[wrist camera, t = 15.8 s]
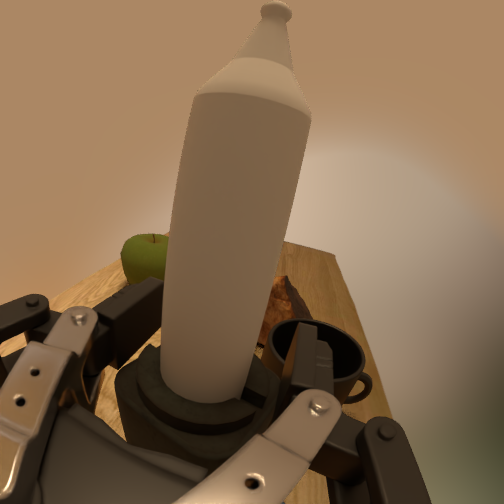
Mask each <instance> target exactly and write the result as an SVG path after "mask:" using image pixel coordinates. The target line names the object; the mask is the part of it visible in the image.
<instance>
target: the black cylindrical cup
mask: <svg viewBox="0 0 504 504" xmlns="http://www.w3.org/2000/svg"><path fill="white" fill-rule="evenodd" d="M299 322H300V323H304V324H308V325H312V326H316V327H317V340H320V341H325V342H327V343H328V345H329V346H330V348H331V350H332V356H333V361H332V362H333V381H334V397H335V398H336V399H337V400H338V401H339V403H340V405H341V406H342V405H343V404H352V403H356V402H359V401H361V400H363V399H364V398H366V397H367V396H368V395H369V393H370V392H371V390H372V379H371V377H370V376H369V375H368V374H366V373H364V372H362V371H363V369H364V367H365V355H364V352H363V350H362V348H361V346H360V345H359V344H358V342H357V341H356V340H355V339H354V338H352V337H351V336H350V335H349V334H347V333H346V332H344V331H343V330H341V329H339V328H337V327H335V326H333V325H330V324H328V323H325V322H321V321H318V320H313V319H305V318H294V319H288V320H284V321H281V322H279V323H277V324H276V325H275V326H273V328H272V329H271V330H270V332H269V334H268V337H267V340H266V343H265V347H264V350H263V353H262V357H261V362H262V363H263V365H264V366H265V367H266V368H268V369H270V370H271V371H273V372H274V373H275V374H276V375H277V376H278V377H279V379H280V380H281V378H282V373H283V368H284V364H285V360H286V357H287V354H288V351H289V348H290V346H291V343H292V340H293V337H294V334H295V331H296V328H297V326H298V323H299ZM357 380H360V381H362V382H363V383H364V384H365V388H364V390H363V391H362V392H361V393H359V394H357V395H355V396H348V395H349V393H350V392H351V390H352V388H353V387H354V385H355V383H356V382H357ZM272 419H273V417H272ZM272 419H271V421H270V423H269V425H268V427H267V429H268V428H269V427H270V426H271V423H272ZM267 429H266V430H267Z"/></svg>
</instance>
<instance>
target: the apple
mask: <svg viewBox="0 0 504 504" xmlns="http://www.w3.org/2000/svg"><path fill="white" fill-rule="evenodd" d="M168 240H169V237H168V236H164V235H161V234H140V235H136V236H133V237H131V238H130V239H128V240H127V241H126V242H125V244H124V246H123V249H122V251H121V260H122V265H123V270H124V274H125V276H126V278H127V280H128V282H129V284H130V285H133V284H136V283H137V284H139V283H141V282H142V281H144V280H145V279H147V278H148V277H154V278H157V279H159V280H162V281H164V280H165V269H166V258H167V249H168Z"/></svg>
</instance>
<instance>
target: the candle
mask: <svg viewBox="0 0 504 504" xmlns="http://www.w3.org/2000/svg"><path fill="white" fill-rule="evenodd" d="M261 16H262V20H261V21H260V22H259V24H258V25H257V26H256V27H255V29H254V30H253V31H252V33H251V34H250V35H249V37H248V38H247V39H246V41H245V42H244V44H243V45H242V46H241V48H240V49H239V51H238V52H237V54H236V55H235V56H234V58H233V59H232V61H231V62H230V63H229V64H228V65H227V66H225V67H224V68H223V69H222V70H220V71H219V72H218V73H217V74H215V75H214V76H213V77H212V78H210V79H209V80H208V81H207V82H206V83H205V84H204V85H203V86H202V87H201V88H200V89H199V90H198V91H197V93H196V95H195V97H194V100H193V104H192V109H191V113H190V117H189V122H188V126H187V131H186V135H185V140H184V145H183V150H182V156H181V162H180V166H179V172H178V178H177V184H176V190H175V196H174V203H173V210H172V217H171V224H170V232H169V240H168V249H167V258H166V269H165V280H164V292H163V307H162V325H161V345H160V346H158V347H157V348H155V347H154V346H153V345H151V344H149V345H147V346H146V347H145V348H144V350H143V351H142V352H141V354H140V355H139V357H138V358H137V359H136V360H134V361H132V362H130V363H128V364H127V365H125V366H124V367H122V368H121V369H120V370H119V371H118V373H117V374H116V377H115V381H114V384H115V392H116V397H117V403H118V407H119V412H120V417H121V421H122V425H123V429H124V433H125V437H126V441H127V443H128V444H130V445H133V446H136V447H140V448H143V449H147V450H151V451H156V452H160V453H164V454H169V455H172V456H175V457H177V458H179V459H182V460H184V461H187V462H190V463H192V464H195V465H198V466H201V467H203V468H206V469H208V472H207V476H206V478H207V477H208V476H209V475H210V474H212V473H213V472H214V471H215V470H216V469H218V468H219V467H220V466H221V465H222V464H223V463H225V462H226V461H227V460H228V459H229V458H230V457H231V456H233V455H234V454H235V453H236V452H237V451H238V450H239V449H240V448H241V447H242V446H244V445H245V444H246V443H247V442H248V441H249V440H250V439H251V438H252V437H253V436H254V435H256V434H257V433H261V434H263V433H264V432H265V431H266V429H267V427H268V425H269V423H270V421H271V419H272V417H273V414H274V410H275V406H276V401H277V397H278V392H279V387H280V383H281V380H280V379H279V377H278V376H277V375H276V374H275V373H274V372H273V371H271V370H270V369H268V368H266V367H265V366H264V365H263V363H262V362H261V360H260V359H259V358H258V357H257V356H256V355H255V354H254V351H255V348H256V344H257V341H258V337H259V333H260V330H261V326H262V322H263V319H264V315H265V311H266V308H267V304H268V300H269V296H270V293H271V289H272V285H273V281H274V277H275V273H276V269H277V266H278V262H279V258H280V254H281V250H282V246H283V242H284V237H285V234H286V229H287V225H288V221H289V217H290V213H291V208H292V205H293V200H294V196H295V192H296V187H297V183H298V179H299V174H300V170H301V165H302V161H303V157H304V152H305V147H306V142H307V138H308V133H309V129H310V124H311V112H310V109H309V107H308V104H307V102H306V100H305V97H304V95H303V93H302V91H301V89H300V87H299V85H298V83H297V81H296V78H295V76H294V74H293V67H292V59H291V53H290V46H289V39H288V33H287V27H286V23H287V22H288V21H289V20H290V19H291V16H292V11H291V9H290V8H289V7H288V6H287V5H286V4H285V3H284V2H281V1H271V2H269V3H266V4H264V5H263V6H262V8H261Z"/></svg>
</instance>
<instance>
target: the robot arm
mask: <svg viewBox="0 0 504 504" xmlns="http://www.w3.org/2000/svg"><path fill="white" fill-rule="evenodd" d="M163 292H164V281H162V280H159V279H157V278H154V277H148V278H147V279H145V280H144V281H142V282H141V283H139V284H137V283H136V284H133V285H129V286H126V287H124V288H123V289H121V290H120V291H118V292H116V293H115V294H113V295H112V297H111V296H110V297H109V298H107V299H106V300H104V301H103V302H101V303H99V304H98V305H96V306H95V307H93V308H92V309H91V308H88V307H84V306H75V307H71V308H68V309H67V310H65V311H64V312H63V313H59V312H56V311H52V310H50V308H49V302H48V299H47V298H46V297H45V296H43V295H39V294H30V295H27V296H24V297H21V298H18V299H16V300H13V301H11V302H8V303H5V304H3V305H0V344H1V343H2V342H4V341H6V340H8V339H10V338H12V337H14V336H16V335H19V334H21V333H23V332H24V335H25V338H26V341H27V346H26V347H24V348H22V349H19V350H17V351H15V352H13V353H11V354H9V355H7V356H5V357H1V356H0V504H281V503H282V502H283V501H284V499H285V498H286V497H287V496H288V495H289V493H290V492H291V491H292V490H293V488H294V487H295V486H296V484H297V483H298V482H299V480H300V479H301V478H302V476H303V475H304V474H305V472H306V471H307V469H310V470H312V471H315V472H317V473H319V474H322V475H324V476H326V480H327V487H328V494H329V501H330V504H432V503H431V500H430V497H429V494H428V492H427V489H426V486H425V483H424V480H423V478H422V475H421V472H420V470H419V467H418V464H417V462H416V460H415V457H414V454H413V452H412V449H411V447H410V444H409V442H408V439H407V437H406V435H405V432H404V430H403V428H402V427H401V426H400V425H399V424H398V423H397V422H396V421H394V420H393V419H390V418H387V417H380V416H379V417H374V418H372V419H370V420H369V421H368V422H367V423H366V424H365V423H363V422H360V421H358V420H355V419H353V418H351V417H349V416H347V415H346V414H344V413H343V412H342V408H341V405H340V403H339V401H338V400H337V399H336V398H335V397H334V381H333V362H332V361H333V356H332V350H331V348H330V346H329V345H328V343H327V342H325V341H320V340H317V327H316V326H312V325H308V324H304V323H300V322H299V323H298V326H297V328H296V331H295V334H294V337H293V340H292V343H291V346H290V348H289V351H288V354H287V357H286V360H285V364H284V368H283V373H282V378H281V383H280V387H279V392H278V397H277V401H276V406H275V410H274V414H273V419H272V423H271V426H270V427H269V428H268V429H267V430H266V431H265V432H264V433H263V434H261V433H257V434H256V435H254V436H253V437H252V438H251V439H250V440H249V441H248V442H247V443H246V444H245V445H244V446H242V447H241V448H240V449H239V450H238V451H237V452H236V453H235V454H234V455H233V456H231V457H230V458H229V459H228V460H227V461H226V462H225V463H223V464H222V465H221V466H220V467H219V468H218V469H216V470H215V471H214V472H213V473H212V474H210V475H209V476H208V477H207V478H206V476H207V472H208V469H206V468H203V467H201V466H198V465H195V464H192V463H190V462H187V461H184V460H182V459H179V458H177V457H175V456H172V455H169V454H164V453H160V452H156V451H151V450H147V449H143V448H140V447H136V446H133V445H130V444H128V443H127V442H126V441H125V440H124V439H122V438H121V437H120V436H119V435H118V434H117V433H116V432H115V431H114V430H113V429H112V428H110V427H109V426H108V425H107V424H106V423H105V422H104V421H103V420H102V419H100V418H99V417H97V416H96V415H95V409H96V405H97V401H98V398H99V394H100V390H101V387H102V384H103V380H104V377H105V369H104V368H105V367H106V366H107V365H110V366H112V367H113V368H115V369H117V370H119V369H120V368H121V367H122V366H123V365H124V364H125V363H126V362H127V361H128V360H129V359H130V358H131V357H132V356H133V355H134V354H135V353H136V352H137V351H138V350H139V349H140V348H141V347H142V346H143V344H144V343H145V342H146V341H147V340H148V339H149V338H150V337H151V336H152V335H153V334H154V333H155V332H156V331H157V330H158V329H159V328H160V327H161V325H162V307H163Z"/></svg>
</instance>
